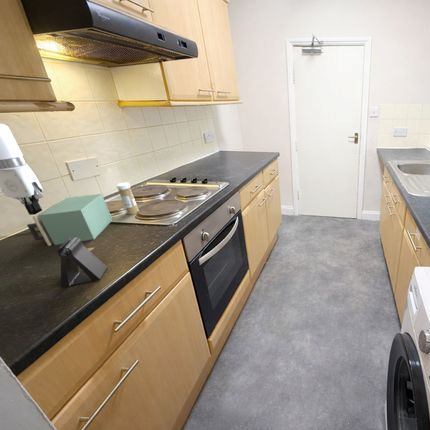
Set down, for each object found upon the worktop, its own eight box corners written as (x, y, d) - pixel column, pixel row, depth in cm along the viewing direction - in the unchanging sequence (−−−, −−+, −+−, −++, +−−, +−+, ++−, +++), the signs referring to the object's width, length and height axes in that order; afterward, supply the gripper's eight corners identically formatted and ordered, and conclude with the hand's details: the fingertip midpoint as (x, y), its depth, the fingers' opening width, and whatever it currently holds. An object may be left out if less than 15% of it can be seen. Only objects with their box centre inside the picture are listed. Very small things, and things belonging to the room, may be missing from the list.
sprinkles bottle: (141, 211, 119) (131, 182, 113) (132, 215, 115) (121, 186, 109) (134, 210, 120) (123, 181, 114) (124, 214, 116) (113, 185, 110)
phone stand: (108, 268, 80) (92, 233, 75) (100, 280, 75) (82, 244, 70) (72, 275, 78) (53, 240, 72) (61, 288, 72) (40, 251, 67)
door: (35, 247, 92) (18, 217, 87) (65, 225, 107) (52, 199, 102) (50, 245, 93) (34, 216, 88) (77, 224, 108) (65, 198, 103)
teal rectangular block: (54, 245, 94) (38, 215, 88) (78, 224, 108) (66, 197, 103) (94, 239, 97) (80, 210, 91) (112, 220, 111) (101, 193, 106)
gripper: (-25, 166, 85) (5, 217, 93) (18, 166, 84) (45, 218, 92) (2, 160, 91) (28, 208, 99) (42, 160, 91) (65, 209, 98)
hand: (36, 213), depth 95 cm, fingers closed
